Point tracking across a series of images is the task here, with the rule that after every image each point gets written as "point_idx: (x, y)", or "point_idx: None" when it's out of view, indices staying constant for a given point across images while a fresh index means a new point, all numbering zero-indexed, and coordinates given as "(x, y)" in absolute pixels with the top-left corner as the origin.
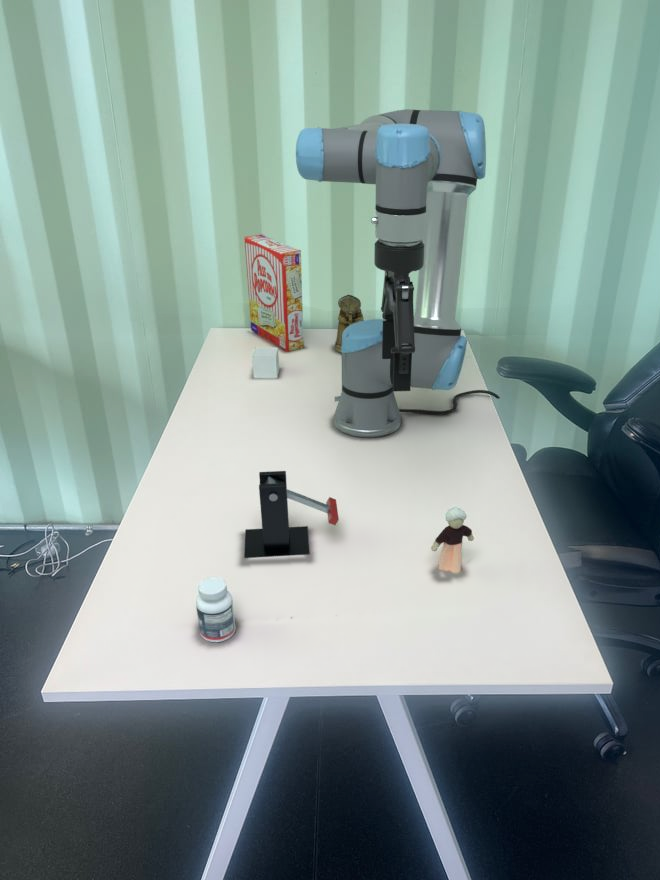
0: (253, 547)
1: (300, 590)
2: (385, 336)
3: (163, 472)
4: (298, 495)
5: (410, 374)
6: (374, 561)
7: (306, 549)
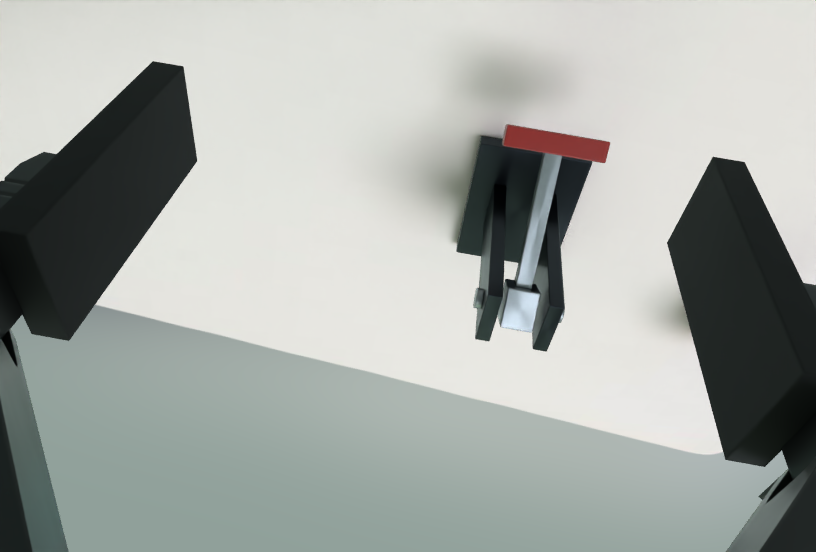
0: None
1: (687, 192)
2: (124, 243)
3: (214, 323)
4: (535, 245)
5: (779, 239)
6: (669, 12)
7: (573, 165)
